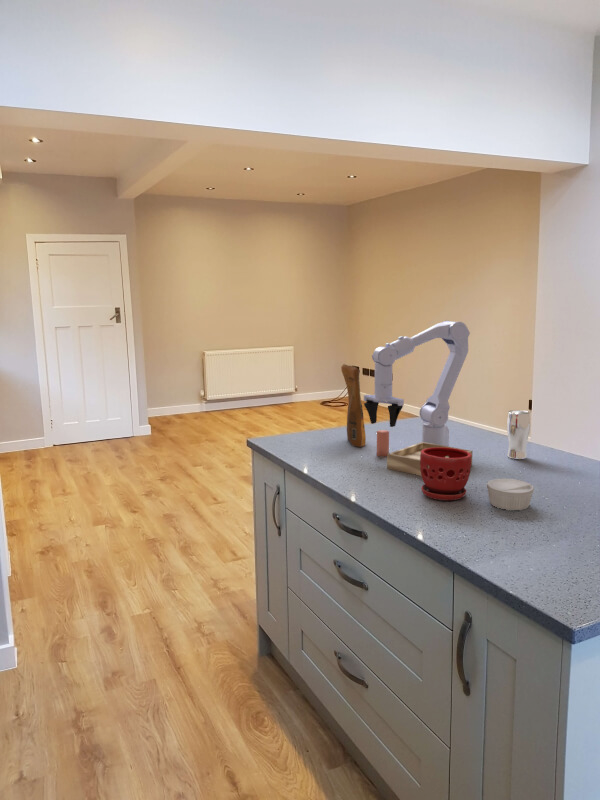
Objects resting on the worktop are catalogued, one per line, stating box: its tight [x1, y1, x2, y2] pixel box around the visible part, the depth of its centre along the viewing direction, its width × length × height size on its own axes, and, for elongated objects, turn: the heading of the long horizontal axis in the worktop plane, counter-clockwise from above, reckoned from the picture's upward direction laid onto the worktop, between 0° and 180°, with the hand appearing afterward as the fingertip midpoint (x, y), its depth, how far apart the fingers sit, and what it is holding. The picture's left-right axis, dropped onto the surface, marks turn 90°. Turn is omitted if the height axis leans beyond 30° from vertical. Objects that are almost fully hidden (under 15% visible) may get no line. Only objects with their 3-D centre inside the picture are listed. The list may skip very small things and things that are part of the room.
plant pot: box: [420, 447, 473, 501], centre depth 162 cm, size 13×13×12 cm
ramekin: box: [486, 478, 535, 511], centre depth 155 cm, size 11×11×5 cm
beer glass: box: [506, 409, 531, 459], centre depth 197 cm, size 7×7×15 cm
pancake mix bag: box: [340, 363, 367, 448], centre depth 219 cm, size 7×19×28 cm, turn 6°
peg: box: [376, 429, 390, 458], centre depth 203 cm, size 4×4×8 cm
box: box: [386, 441, 473, 477], centre depth 189 cm, size 20×18×4 cm
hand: (383, 424), depth 202 cm, fingers open, 7 cm apart
